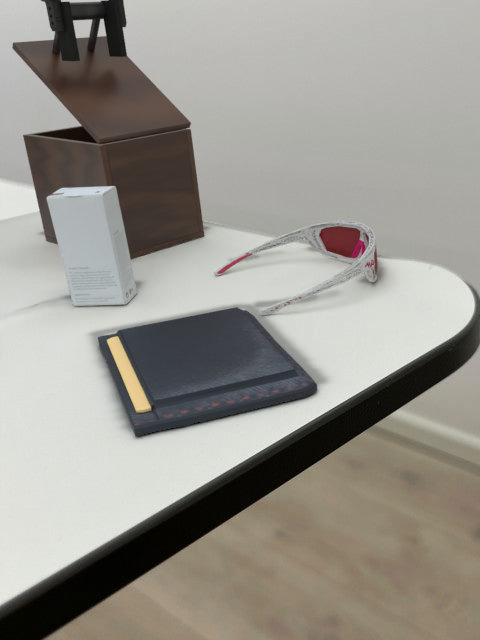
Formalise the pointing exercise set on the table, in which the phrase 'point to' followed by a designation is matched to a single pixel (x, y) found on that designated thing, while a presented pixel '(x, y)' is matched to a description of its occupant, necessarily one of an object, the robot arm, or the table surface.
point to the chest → (124, 181)
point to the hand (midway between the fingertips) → (95, 58)
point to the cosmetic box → (93, 245)
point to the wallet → (200, 369)
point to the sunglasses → (326, 253)
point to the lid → (101, 84)
